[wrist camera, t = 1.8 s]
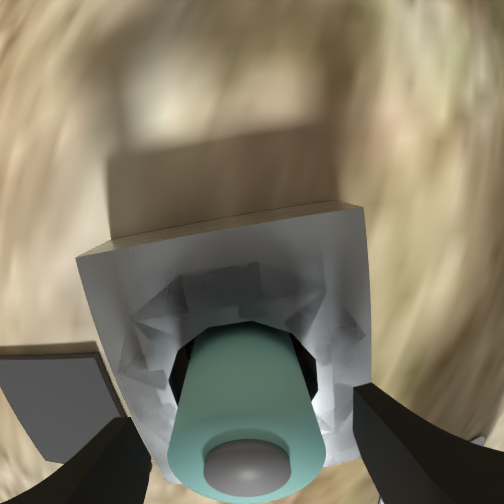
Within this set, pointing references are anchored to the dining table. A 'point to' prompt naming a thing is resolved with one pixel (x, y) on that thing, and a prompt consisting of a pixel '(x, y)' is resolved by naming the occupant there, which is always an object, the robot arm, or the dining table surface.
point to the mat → (59, 400)
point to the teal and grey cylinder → (245, 417)
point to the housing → (236, 308)
